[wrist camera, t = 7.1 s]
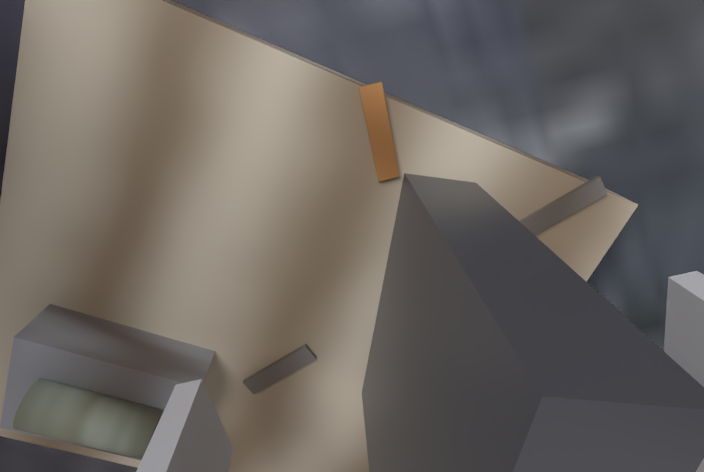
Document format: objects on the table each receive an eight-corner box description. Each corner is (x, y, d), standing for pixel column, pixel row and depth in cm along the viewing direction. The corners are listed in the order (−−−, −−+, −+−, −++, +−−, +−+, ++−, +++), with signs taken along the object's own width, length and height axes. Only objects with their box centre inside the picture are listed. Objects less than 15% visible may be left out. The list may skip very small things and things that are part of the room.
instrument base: (19, 378, 21) (-101, 507, 15) (89, -47, 14) (-69, -111, 9) (407, 477, 24) (432, 610, 19) (596, 173, 18) (721, 232, 12)
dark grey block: (404, 173, 14) (559, 423, 5) (475, 182, 15) (761, 438, 5) (361, 392, 18) (401, 798, 8) (420, 397, 18) (526, 796, 8)
